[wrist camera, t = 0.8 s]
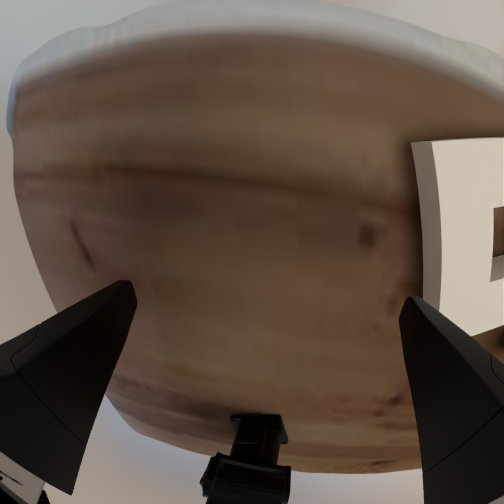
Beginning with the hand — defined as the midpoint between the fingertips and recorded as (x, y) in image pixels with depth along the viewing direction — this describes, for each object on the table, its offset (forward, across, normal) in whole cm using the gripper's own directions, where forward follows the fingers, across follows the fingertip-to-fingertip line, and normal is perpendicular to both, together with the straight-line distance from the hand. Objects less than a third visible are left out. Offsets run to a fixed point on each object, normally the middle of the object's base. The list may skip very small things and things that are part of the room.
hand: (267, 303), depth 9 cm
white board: (+12, -20, +2) cm, 24 cm away
